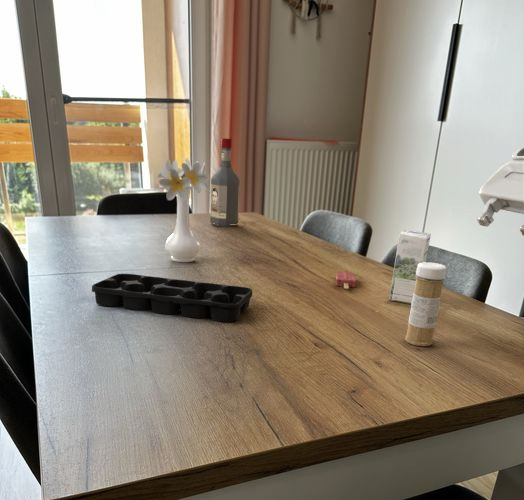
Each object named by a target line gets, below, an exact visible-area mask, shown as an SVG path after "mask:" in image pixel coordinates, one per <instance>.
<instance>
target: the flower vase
mask: <svg viewBox="0 0 524 500" xmlns="http://www.w3.org/2000/svg"><path fill="white" fill-rule="evenodd" d="M178 164H179V163H178V161H177V160H173V162H172V163H171V160H170V158H167V159H166V161H165V167H162V168H160V170H159V172H158V174H157V177H158V179H159V180H158V183H159V184H158V188H160V189H161V188H168V190H167V192H166V200H167V201H173V200H174V199H175V197H176V222H175V226H174V230H173V232H172V234H171V235H170V236H169V237H168V238H167V240H166V241H165V243H164V249H165V251H166V253H167V254H168V255H169V256H170V258H171V261H173V262H177V263H191V262H194V261H195V260H196V257H197V256H198V255H199V254H200V252H201V251H202V245H201V242H200V240H199V239H198V238H197V236H195V234H194V232H193V230H192V226H191V222H190V196H191V190H192V188H193V189H194V190H195V192H196V193H201V192H202V191H201V190H202V187H203V188H204V190H205V191H206V192H208V193H209V194H211V187H210V186H209V184H208V182H209V180H210V174H209V173H208V172H206V162H205V161H204V162H203V164H202V165H201V162H200V161H195V162H194V163H193V164H192V163H191V161H190V160H189V159H188V158H187V157H185V158H184V162H182V163H181V168H180V167H178V166H179V165H178ZM201 186H202V187H201Z"/></svg>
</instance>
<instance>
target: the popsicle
mask: <svg viewBox="0 0 524 500" xmlns="http://www.w3.org/2000/svg"><path fill="white" fill-rule="evenodd" d="M356 285H357V279H356V276H355V274H354V272H351V271H344V270H341V271H340V270H338V271H336V274H335V286H336V287H343V289H345V290H348V289H350V288H356Z"/></svg>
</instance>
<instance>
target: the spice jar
mask: <svg viewBox="0 0 524 500" xmlns="http://www.w3.org/2000/svg"><path fill="white" fill-rule="evenodd" d="M447 270H448V268H447V266H446V265H444V264H443V263H437V262H430V261H429V262H427V261H426V262H423V263H419V264H418V266H417V271H416V275H417V277H416V284H415V289H414V293H413V298H412V304H410V310H409V317H408V325H407V330H406V335H405V337H404V338H405V339H404V340H405V341H406V342H407V343H408V344H410V345H411V346H412V345H413V346H418V347H429V346H431V345H432V344H433V337H434V332H435V327H436V325H437V319H438V315H439V310H440V304H441V300H442V299H441V298H442V291H443V286H444V285H443V284H444V281H445V279H446V275H447Z"/></svg>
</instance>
